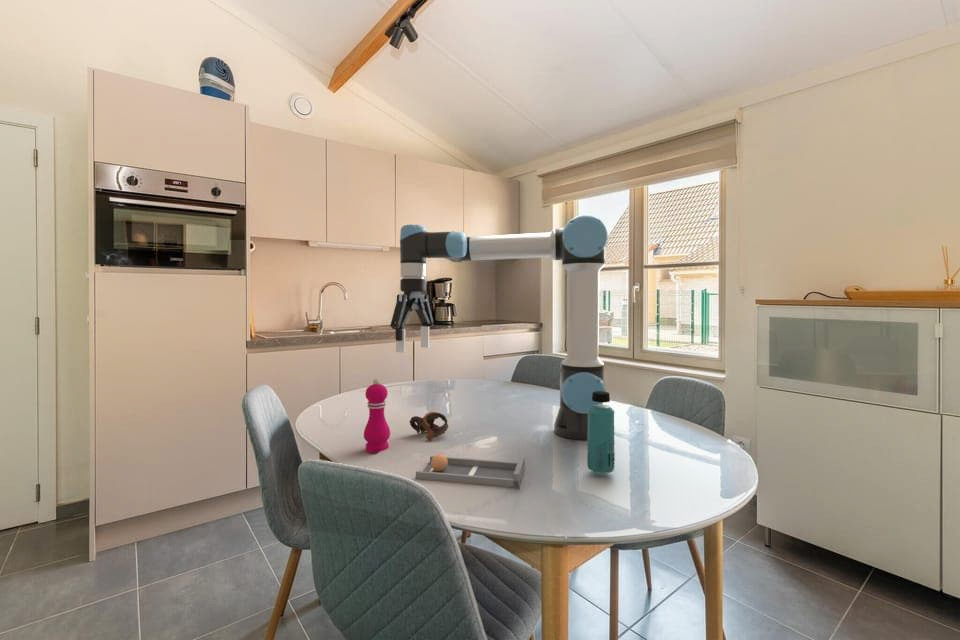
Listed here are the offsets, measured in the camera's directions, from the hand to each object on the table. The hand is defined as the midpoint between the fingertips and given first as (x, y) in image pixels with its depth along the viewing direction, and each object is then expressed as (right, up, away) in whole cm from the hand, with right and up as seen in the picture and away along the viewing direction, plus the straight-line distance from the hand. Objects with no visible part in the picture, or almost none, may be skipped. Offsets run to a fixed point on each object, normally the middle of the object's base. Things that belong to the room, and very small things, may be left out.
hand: (413, 349), depth 134 cm
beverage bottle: (+49, -28, -26) cm, 62 cm away
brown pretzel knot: (+4, -27, +4) cm, 28 cm away
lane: (+18, -28, -27) cm, 43 cm away
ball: (+10, -28, -26) cm, 39 cm away
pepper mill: (-9, -28, -9) cm, 30 cm away
